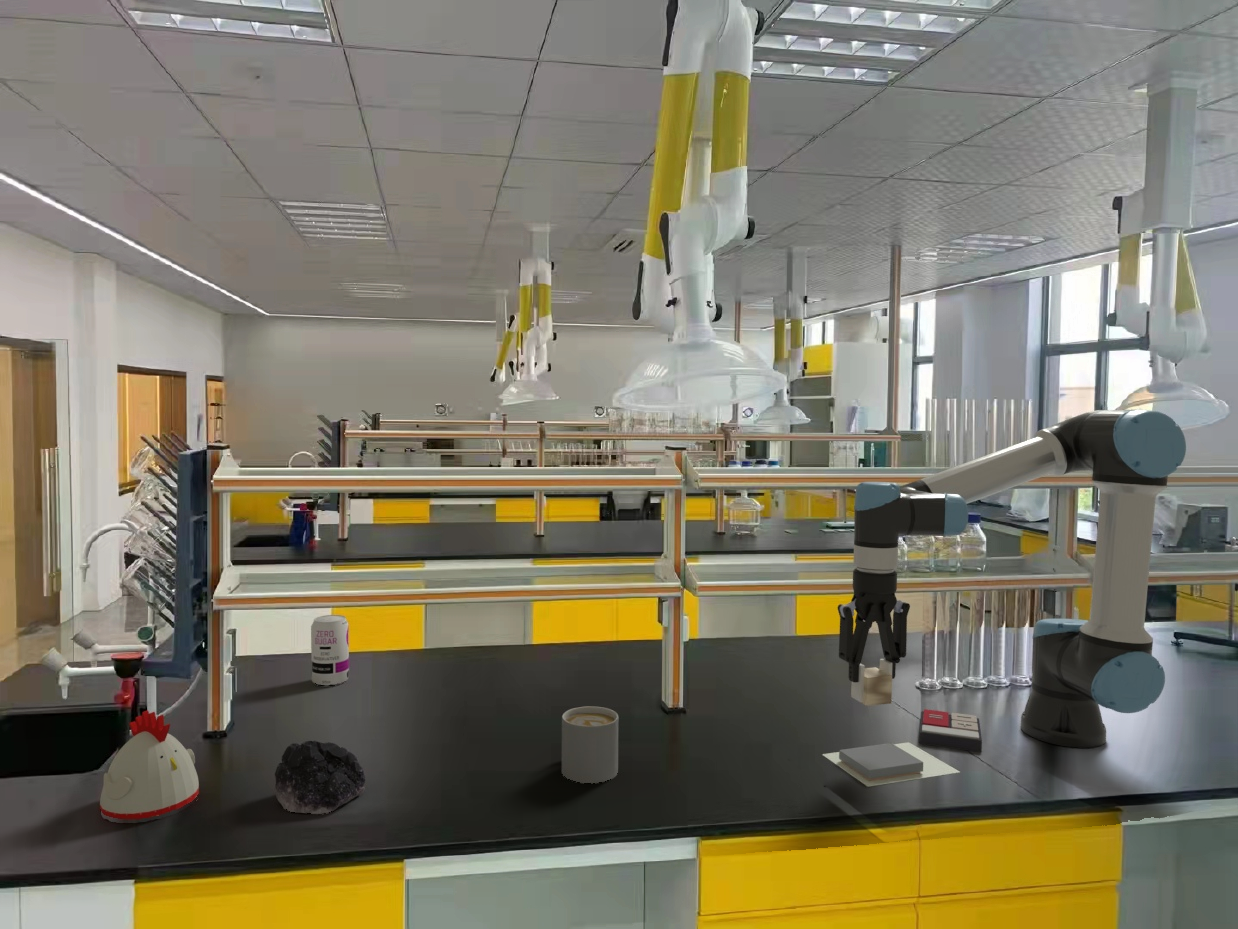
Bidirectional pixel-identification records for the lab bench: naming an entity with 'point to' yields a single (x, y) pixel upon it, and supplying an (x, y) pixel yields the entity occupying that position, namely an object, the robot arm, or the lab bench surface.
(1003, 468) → the robot arm
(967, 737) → the calculator
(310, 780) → the crystal cluster
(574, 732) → the coffee mug
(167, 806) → the white chicken figure
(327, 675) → the supplement can
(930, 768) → the board
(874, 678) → the block
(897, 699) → the lab bench surface
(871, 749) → the tile
